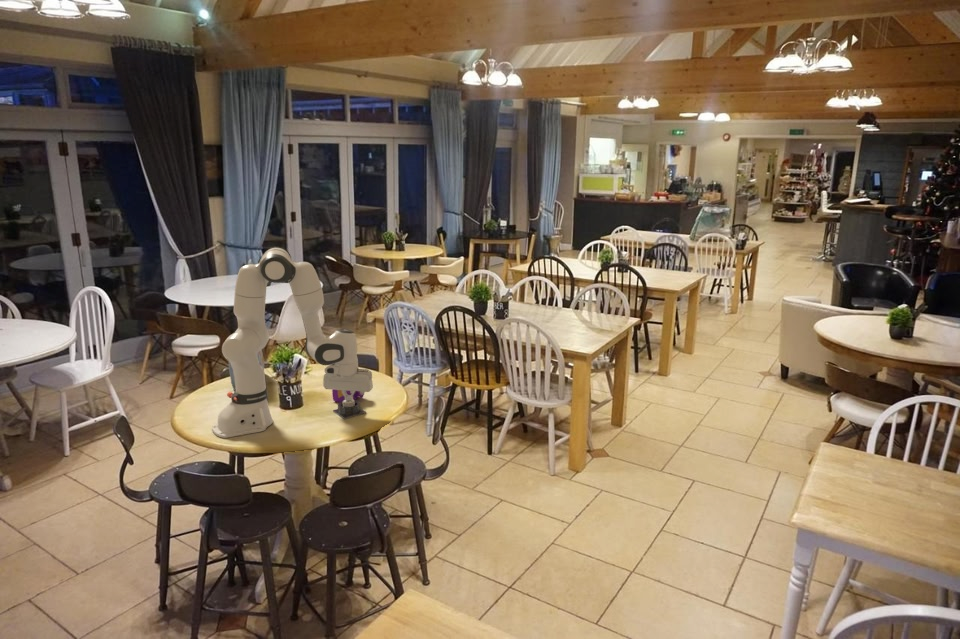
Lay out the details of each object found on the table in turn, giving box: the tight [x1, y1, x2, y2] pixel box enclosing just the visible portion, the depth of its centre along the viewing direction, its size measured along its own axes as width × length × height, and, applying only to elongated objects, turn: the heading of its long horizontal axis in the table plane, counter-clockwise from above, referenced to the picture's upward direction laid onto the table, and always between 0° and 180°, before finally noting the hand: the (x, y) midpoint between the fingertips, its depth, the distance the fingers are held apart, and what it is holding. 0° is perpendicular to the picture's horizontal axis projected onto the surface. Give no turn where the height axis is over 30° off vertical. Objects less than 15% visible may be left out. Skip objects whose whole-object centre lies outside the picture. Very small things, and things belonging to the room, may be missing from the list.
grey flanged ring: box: [332, 400, 367, 420], centre depth 269 cm, size 10×10×4 cm
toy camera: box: [331, 390, 366, 403], centre depth 283 cm, size 11×14×10 cm
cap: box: [343, 399, 356, 407], centre depth 269 cm, size 5×5×4 cm
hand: (348, 400), depth 268 cm, fingers closed
